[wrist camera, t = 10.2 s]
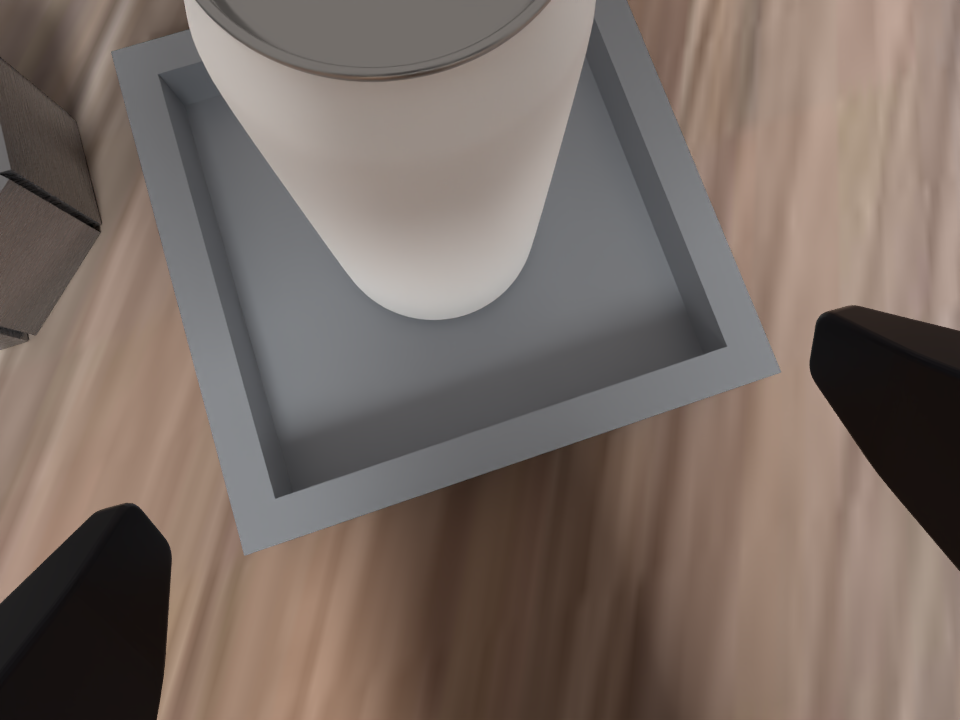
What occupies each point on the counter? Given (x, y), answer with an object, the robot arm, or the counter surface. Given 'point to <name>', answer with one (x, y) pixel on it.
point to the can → (406, 129)
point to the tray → (436, 343)
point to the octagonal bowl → (39, 205)
